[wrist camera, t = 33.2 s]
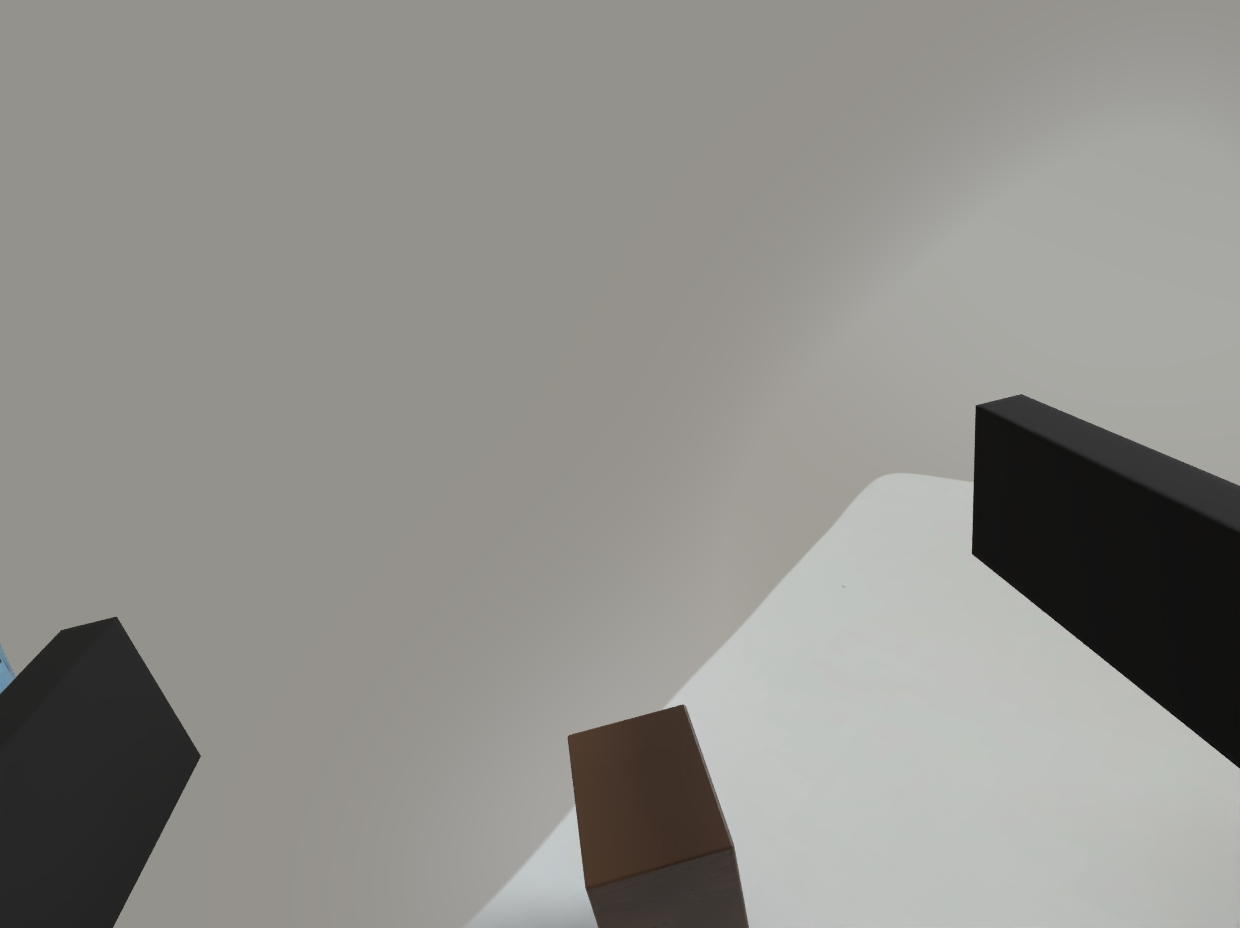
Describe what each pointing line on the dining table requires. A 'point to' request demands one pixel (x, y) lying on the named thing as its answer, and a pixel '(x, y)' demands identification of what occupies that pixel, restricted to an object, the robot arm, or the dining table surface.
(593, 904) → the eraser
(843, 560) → the dining table surface
